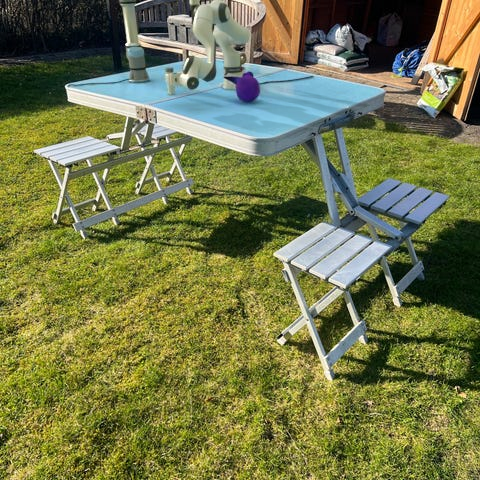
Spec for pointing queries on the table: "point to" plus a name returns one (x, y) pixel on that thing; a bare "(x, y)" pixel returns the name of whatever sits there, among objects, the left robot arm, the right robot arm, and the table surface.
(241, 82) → the toy
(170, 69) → the lid
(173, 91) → the cream long cylinder
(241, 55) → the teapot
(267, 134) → the table surface
